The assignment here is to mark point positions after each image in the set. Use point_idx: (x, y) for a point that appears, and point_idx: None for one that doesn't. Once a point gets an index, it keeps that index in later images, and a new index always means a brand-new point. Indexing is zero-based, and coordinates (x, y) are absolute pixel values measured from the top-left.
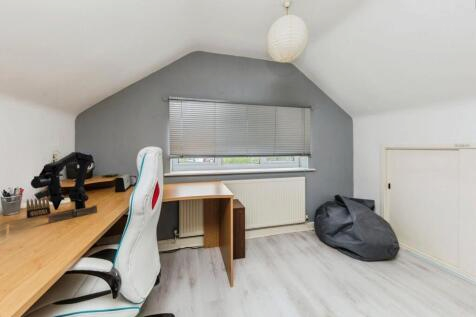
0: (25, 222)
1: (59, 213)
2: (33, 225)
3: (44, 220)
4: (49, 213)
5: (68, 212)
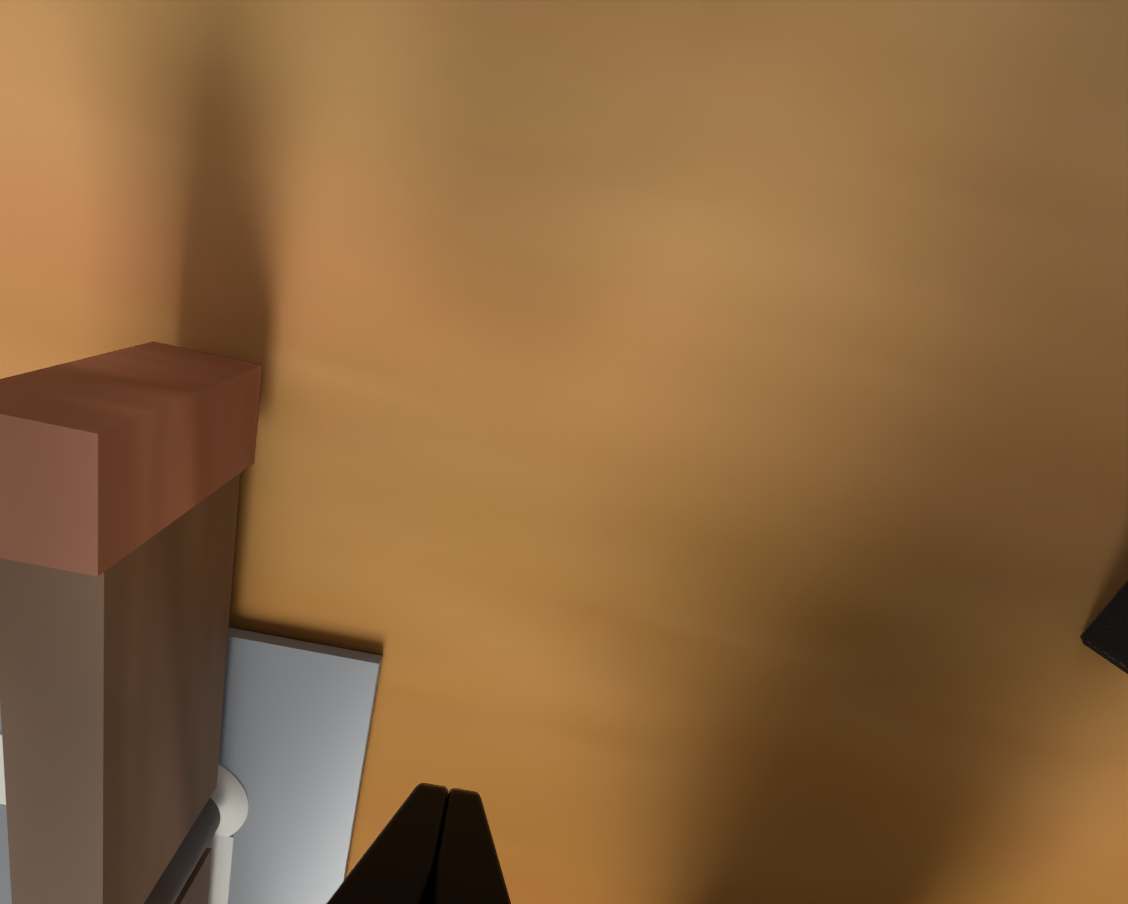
0: (1080, 42)
1: (95, 718)
2: (498, 70)
3: (704, 399)
4: (1124, 651)
5: (14, 878)
